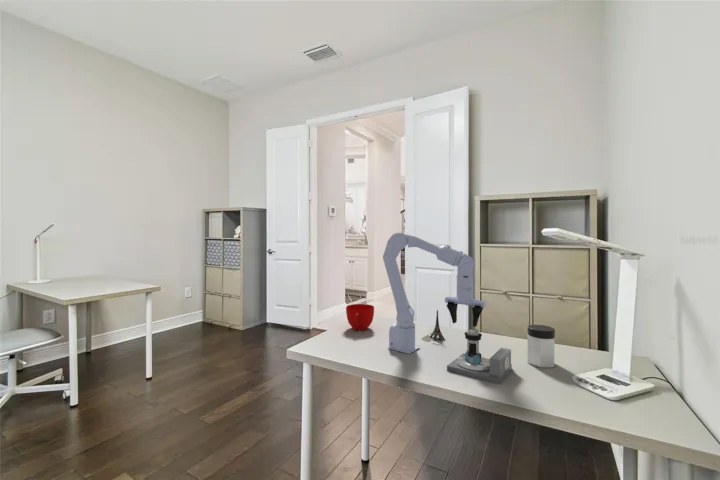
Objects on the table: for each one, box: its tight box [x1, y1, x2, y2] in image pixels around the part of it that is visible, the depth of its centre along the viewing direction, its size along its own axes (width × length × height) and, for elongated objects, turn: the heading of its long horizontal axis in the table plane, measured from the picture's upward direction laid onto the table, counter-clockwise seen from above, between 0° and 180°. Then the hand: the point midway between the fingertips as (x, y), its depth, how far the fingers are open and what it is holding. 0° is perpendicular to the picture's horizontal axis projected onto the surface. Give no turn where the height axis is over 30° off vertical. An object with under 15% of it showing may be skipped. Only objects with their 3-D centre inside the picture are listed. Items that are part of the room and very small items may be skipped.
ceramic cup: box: [345, 303, 375, 331], centre depth 153 cm, size 13×17×10 cm
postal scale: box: [446, 347, 513, 385], centre depth 108 cm, size 16×14×6 cm
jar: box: [526, 324, 556, 369], centre depth 113 cm, size 9×8×12 cm
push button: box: [464, 329, 486, 364], centre depth 109 cm, size 7×5×10 cm
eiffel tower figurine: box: [421, 309, 446, 346], centre depth 140 cm, size 15×10×13 cm
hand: (464, 324), depth 123 cm, fingers open, 7 cm apart
